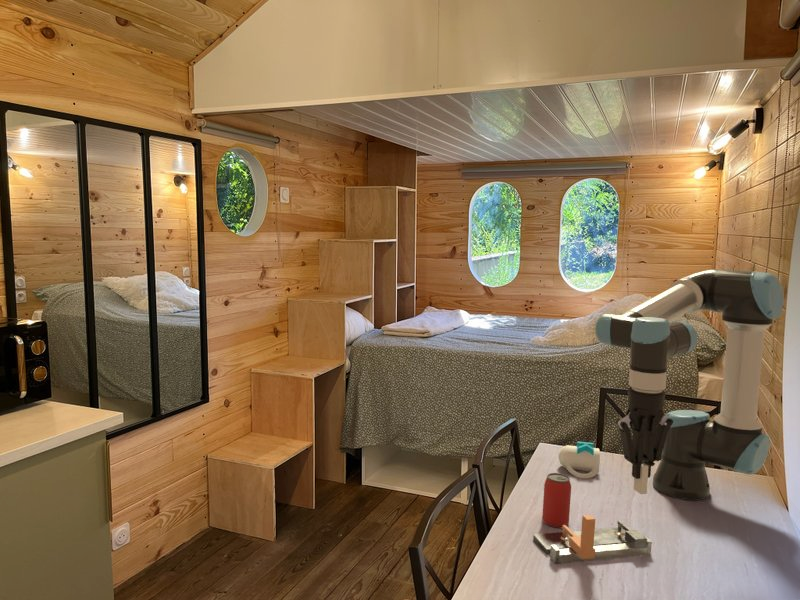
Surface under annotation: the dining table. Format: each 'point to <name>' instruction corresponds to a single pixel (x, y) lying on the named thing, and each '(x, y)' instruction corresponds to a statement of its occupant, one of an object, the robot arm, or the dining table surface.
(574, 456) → the mug
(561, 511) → the beer can
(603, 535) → the hole plate
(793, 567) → the dining table surface
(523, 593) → the dining table surface
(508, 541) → the dining table surface
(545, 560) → the dining table surface
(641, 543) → the beam
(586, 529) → the block
